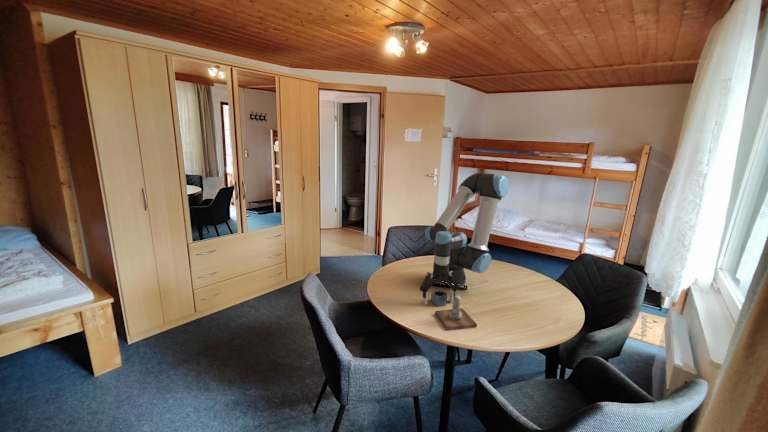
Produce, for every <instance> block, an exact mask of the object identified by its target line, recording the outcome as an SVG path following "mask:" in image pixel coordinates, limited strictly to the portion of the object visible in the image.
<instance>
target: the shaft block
mask: <svg viewBox="0 0 768 432" xmlns="http://www.w3.org/2000/svg"><path fill="white" fill-rule="evenodd" d="M461 299H462V298H461V296H460V295H456V294H455V296H453V303H452V309H442V310H435V311H434V315H435V317H437V318H438V320H439V321H440V323H441V324H442V325H443V327H444V328H445V330H446V331H452V330H461V329H472V328H477V327H478V324H477V323H476V321H475V320H474V319H473V318H472V317H471V316H470V315H469V314H468V313H467V312H466V310H465V309H464V308H462V307H461Z"/></svg>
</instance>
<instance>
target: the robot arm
mask: <svg viewBox="0 0 768 432" xmlns="http://www.w3.org/2000/svg"><path fill="white" fill-rule="evenodd" d="M508 192H509V181H508V178H507V177H506V176H505V175H503V174H497V173H489V172H488V173H487V172H475V173H473V174H471V175H469V176H468V177H466V178H465V179H464V180H463V181H462V182H461V183H460V184H459V186H458V188H457V191H456V193H455V194H454V196H453V198H452V199H451V201H450V202H449V204H448V205H447V206H446V208H445V210H444V211H443V213H441V215H440V217H439V218H438V219H437V221H436V222H435V223H434V225H429V226H428V227H426V229H425V231H424V236H425V238H426V240H428V241H431V242H434V253H433V254H434V255H433V268H432V272H429V271H427V272H426V274H425V278H424V279H423V281H422V282H421V284H420V286H419V287H418V288H419V291H420V292H422V298H423V304H424V305H425V306H428V296H429V293H428V291H429V290H430V289H431V287H432V286H433V285H435V283H437V282H438V283H439V282H441V281H444V282H447V283H448V284H449V286H450V289H449V297H448V301H449V302H450V303H451V304H453V296H455V295H456V292H457V290H460V285H458V284H462V285H461V286H463V285H465V284H466V283H467V282H466V280H467V278H466V273H465V269H466V270H468V271H471V272H472V273H477V274H483V273H485V272H486V271H487V270H488V269H489V267H491V266H490V265H491V263H492V256H491V254H490V249H489V248H488V244H489V239H490V235H491V231H492V226H493V223H494V218H495V215H496V209H497V206H498V203H500V202H501V201H502V198H503V199H504V198H505V197H506V196H507V195H508ZM476 194H479V195H478V197H479V199H480V203H479V207H478V211H477V215H476V221H475V224H474V229H473V233H472V236H471V240H470V243H468V244H467V242H468V237H467V235H466V233H464V232H462V231H457V232H453V231H450V230H449V229H450V228H451V226H452V225H453V223H454V222H455V220H456V219H457V217H458V216H459V215H460V213H461V212H462V211H463V209H464V208H465V206H466V204H467V203H468V201H469V200H470V199H472V198H473V197H474V196H475V195H476ZM451 283H453V284H454V285H452V284H451ZM448 284H447V285H448Z"/></svg>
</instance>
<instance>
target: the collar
mask: <svg viewBox="0 0 768 432" xmlns="http://www.w3.org/2000/svg"><path fill="white" fill-rule="evenodd" d="M430 295H431V296H430V303H431V305H432V306H436V307H438V308H439V307H445V306H446V305H447V304H448V293H447V292H446V291H444V290H441V289H440V290H439V289H438V290H432V291H431V293H430Z"/></svg>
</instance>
